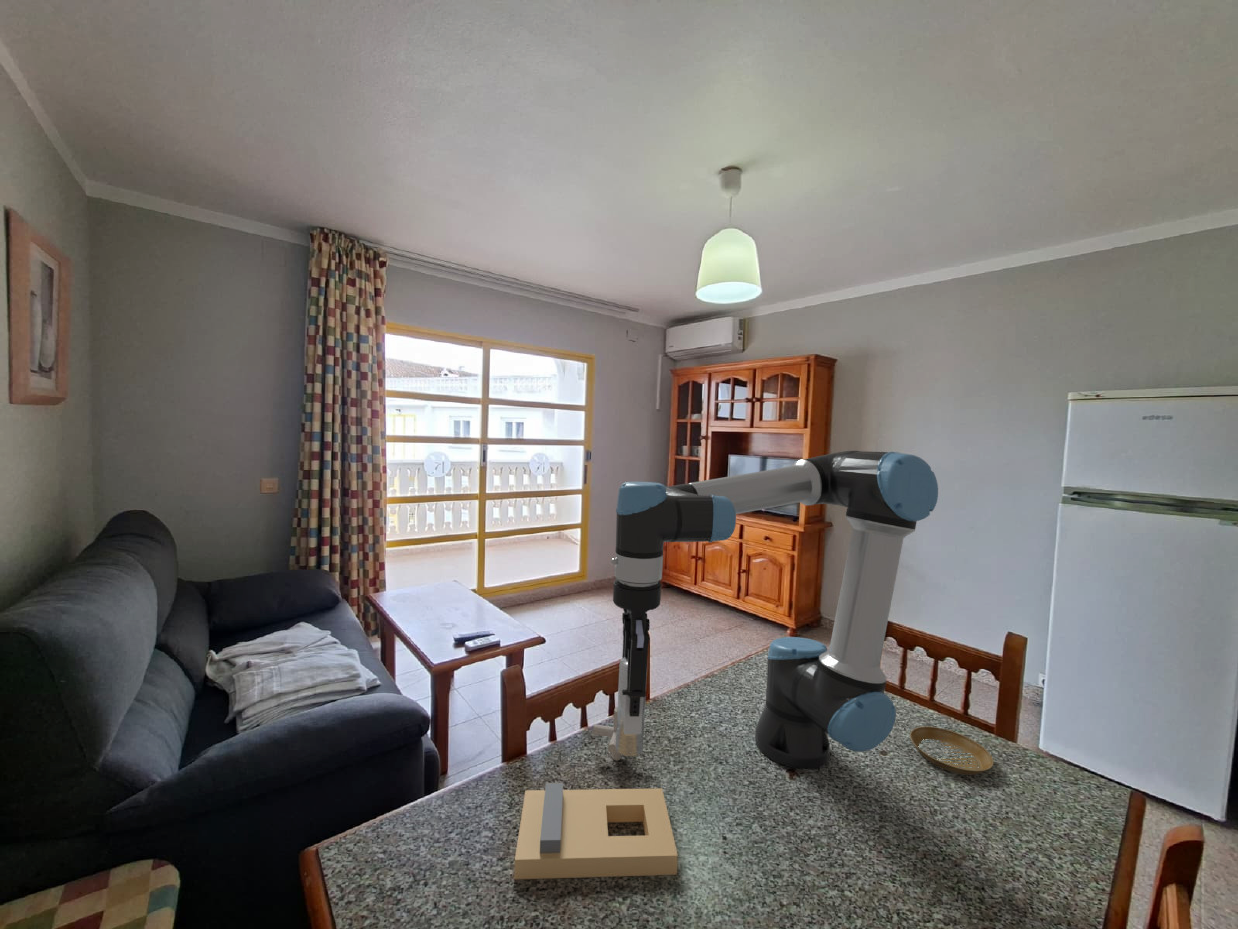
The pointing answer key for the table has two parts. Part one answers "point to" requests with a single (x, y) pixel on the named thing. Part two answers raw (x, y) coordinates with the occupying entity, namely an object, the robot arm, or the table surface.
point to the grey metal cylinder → (624, 742)
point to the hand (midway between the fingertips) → (630, 723)
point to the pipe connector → (609, 733)
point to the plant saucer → (961, 743)
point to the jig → (593, 834)
